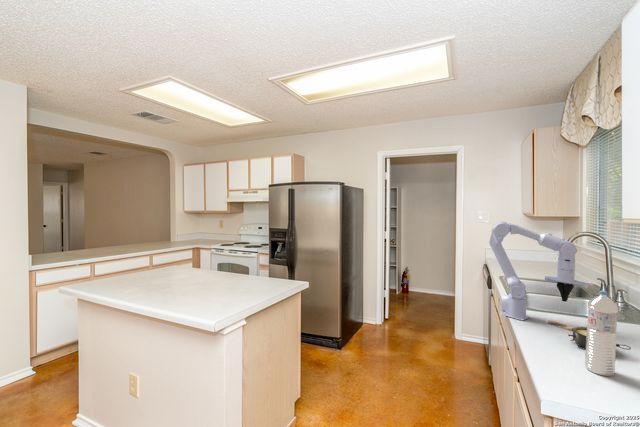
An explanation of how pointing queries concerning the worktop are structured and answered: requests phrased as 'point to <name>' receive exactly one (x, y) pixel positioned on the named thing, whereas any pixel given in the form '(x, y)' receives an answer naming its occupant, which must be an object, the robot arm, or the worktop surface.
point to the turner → (562, 325)
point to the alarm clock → (584, 337)
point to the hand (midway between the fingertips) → (564, 300)
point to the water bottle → (601, 335)
